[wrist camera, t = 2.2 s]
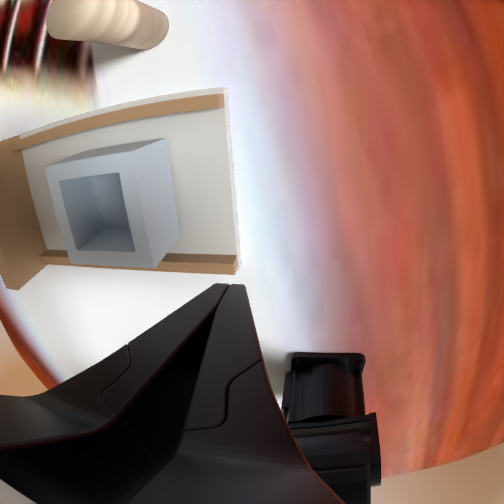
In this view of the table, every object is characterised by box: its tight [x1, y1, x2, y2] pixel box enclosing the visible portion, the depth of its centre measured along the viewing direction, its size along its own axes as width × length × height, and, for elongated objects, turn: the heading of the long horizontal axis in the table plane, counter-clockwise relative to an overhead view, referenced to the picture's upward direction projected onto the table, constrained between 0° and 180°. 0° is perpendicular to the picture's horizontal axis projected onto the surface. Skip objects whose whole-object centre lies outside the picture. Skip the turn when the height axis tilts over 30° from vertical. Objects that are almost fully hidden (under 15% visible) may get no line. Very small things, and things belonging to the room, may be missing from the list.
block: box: [45, 138, 181, 268], centre depth 18 cm, size 7×7×4 cm
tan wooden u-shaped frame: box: [0, 87, 241, 290], centre depth 19 cm, size 20×12×6 cm, turn 93°
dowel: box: [46, 0, 169, 50], centre depth 12 cm, size 3×3×8 cm
